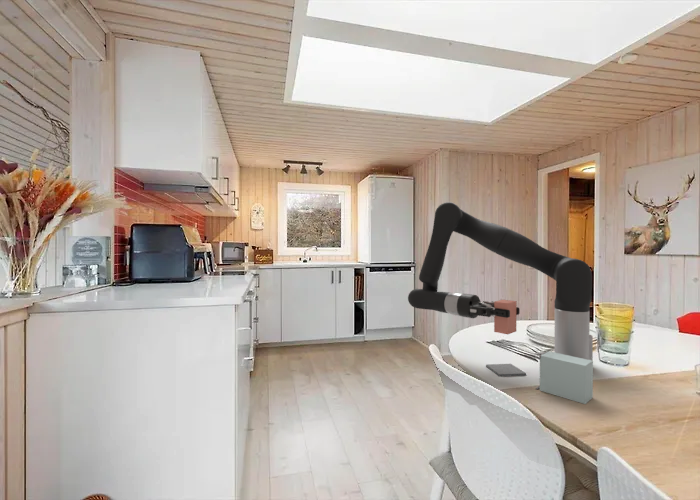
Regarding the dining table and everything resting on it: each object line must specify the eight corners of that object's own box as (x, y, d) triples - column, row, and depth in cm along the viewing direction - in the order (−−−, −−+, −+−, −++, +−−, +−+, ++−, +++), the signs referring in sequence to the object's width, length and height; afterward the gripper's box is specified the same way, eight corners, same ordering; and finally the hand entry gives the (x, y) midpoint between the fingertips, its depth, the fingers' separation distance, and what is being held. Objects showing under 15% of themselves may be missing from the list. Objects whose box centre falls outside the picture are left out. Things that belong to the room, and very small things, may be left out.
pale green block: (535, 389, 87) (535, 354, 87) (544, 383, 91) (544, 350, 91) (585, 404, 79) (585, 365, 79) (592, 397, 83) (592, 360, 82)
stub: (494, 331, 100) (494, 301, 100) (503, 328, 104) (503, 299, 104) (507, 334, 97) (507, 303, 97) (516, 331, 101) (516, 301, 100)
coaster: (510, 365, 105) (510, 363, 105) (526, 375, 97) (526, 373, 97) (485, 366, 104) (485, 364, 104) (499, 376, 96) (499, 374, 96)
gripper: (449, 295, 107) (502, 302, 94) (473, 291, 116) (525, 297, 103) (449, 319, 107) (502, 329, 94) (473, 313, 116) (525, 321, 103)
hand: (514, 312), depth 98 cm, fingers closed on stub, 5 cm apart
